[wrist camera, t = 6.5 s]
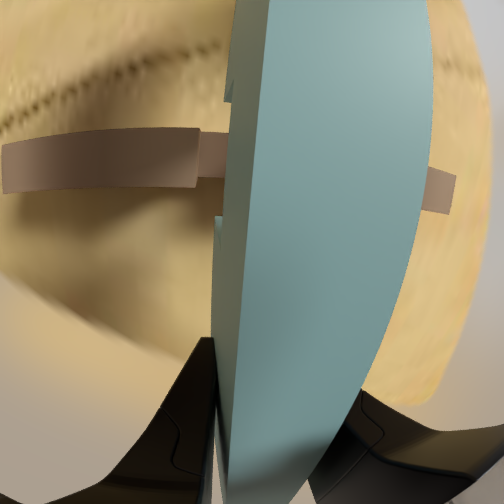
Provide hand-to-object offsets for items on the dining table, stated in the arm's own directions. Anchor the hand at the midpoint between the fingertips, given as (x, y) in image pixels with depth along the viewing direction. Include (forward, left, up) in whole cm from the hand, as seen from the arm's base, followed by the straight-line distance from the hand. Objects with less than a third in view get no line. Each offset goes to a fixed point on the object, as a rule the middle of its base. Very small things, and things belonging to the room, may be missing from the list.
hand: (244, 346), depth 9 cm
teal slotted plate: (+6, 0, -2) cm, 6 cm away
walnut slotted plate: (+6, 0, -9) cm, 10 cm away
